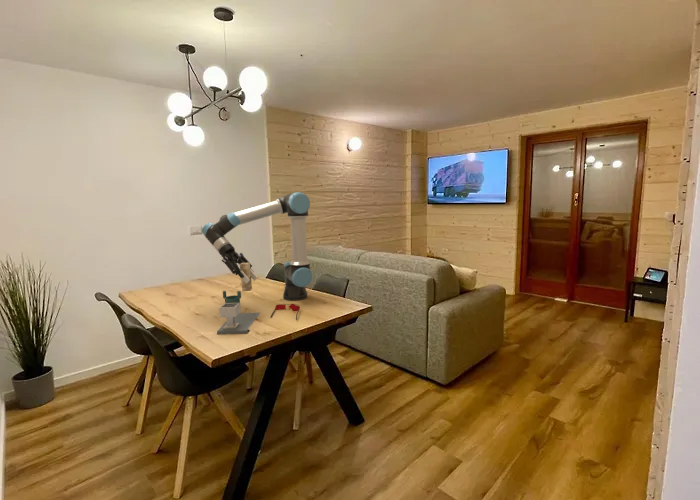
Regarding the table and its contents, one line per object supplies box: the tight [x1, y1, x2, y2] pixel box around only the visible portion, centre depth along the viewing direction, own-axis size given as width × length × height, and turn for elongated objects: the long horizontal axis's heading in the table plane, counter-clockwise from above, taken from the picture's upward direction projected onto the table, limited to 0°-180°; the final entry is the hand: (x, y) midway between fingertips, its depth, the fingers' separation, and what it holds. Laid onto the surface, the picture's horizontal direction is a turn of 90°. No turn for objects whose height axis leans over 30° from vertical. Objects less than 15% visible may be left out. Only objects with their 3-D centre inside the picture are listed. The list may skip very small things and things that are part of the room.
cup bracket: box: [218, 302, 242, 329], centre depth 170 cm, size 8×8×11 cm
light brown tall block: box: [239, 262, 253, 292], centre depth 183 cm, size 4×4×14 cm
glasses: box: [270, 303, 301, 321], centre depth 189 cm, size 14×16×5 cm
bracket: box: [222, 290, 242, 304], centre depth 211 cm, size 9×9×9 cm
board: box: [216, 312, 261, 335], centre depth 179 cm, size 14×26×2 cm, turn 1°
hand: (252, 280), depth 182 cm, fingers closed on light brown tall block, 5 cm apart
